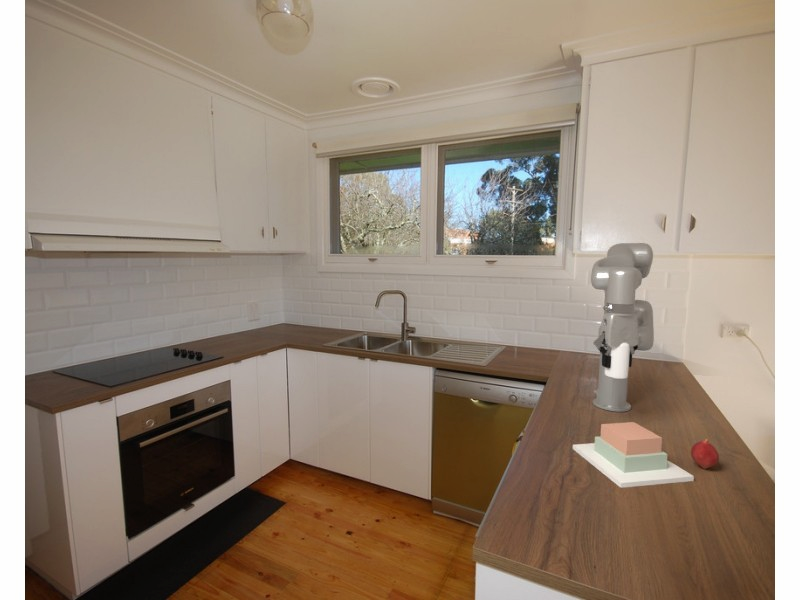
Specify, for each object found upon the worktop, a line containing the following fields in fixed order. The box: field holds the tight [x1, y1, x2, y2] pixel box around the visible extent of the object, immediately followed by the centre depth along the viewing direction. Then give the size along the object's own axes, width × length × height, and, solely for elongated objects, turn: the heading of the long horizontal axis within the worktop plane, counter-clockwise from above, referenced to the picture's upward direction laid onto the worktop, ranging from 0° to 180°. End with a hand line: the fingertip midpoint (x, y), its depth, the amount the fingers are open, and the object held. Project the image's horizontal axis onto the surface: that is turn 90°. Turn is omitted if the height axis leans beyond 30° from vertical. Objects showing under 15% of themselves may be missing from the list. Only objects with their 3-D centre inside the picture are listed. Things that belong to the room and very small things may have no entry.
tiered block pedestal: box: [572, 421, 695, 489], centre depth 107 cm, size 20×20×9 cm
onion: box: [690, 439, 720, 470], centre depth 104 cm, size 6×6×8 cm
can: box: [605, 340, 630, 379], centre depth 123 cm, size 6×6×12 cm
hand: (616, 365), depth 123 cm, fingers closed on can, 6 cm apart
